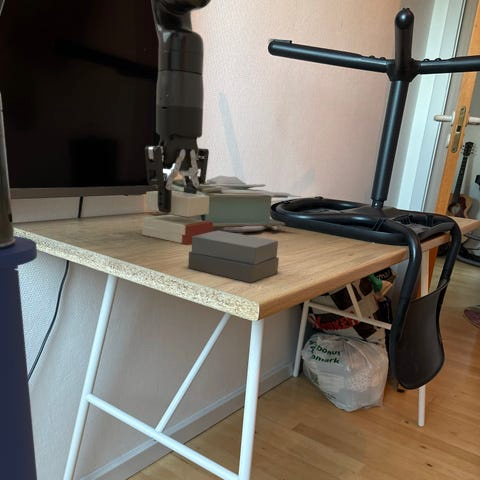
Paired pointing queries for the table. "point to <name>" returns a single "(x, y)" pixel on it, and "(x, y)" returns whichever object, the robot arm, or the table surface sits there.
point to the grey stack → (234, 255)
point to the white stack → (175, 228)
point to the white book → (180, 203)
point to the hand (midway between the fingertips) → (177, 210)
